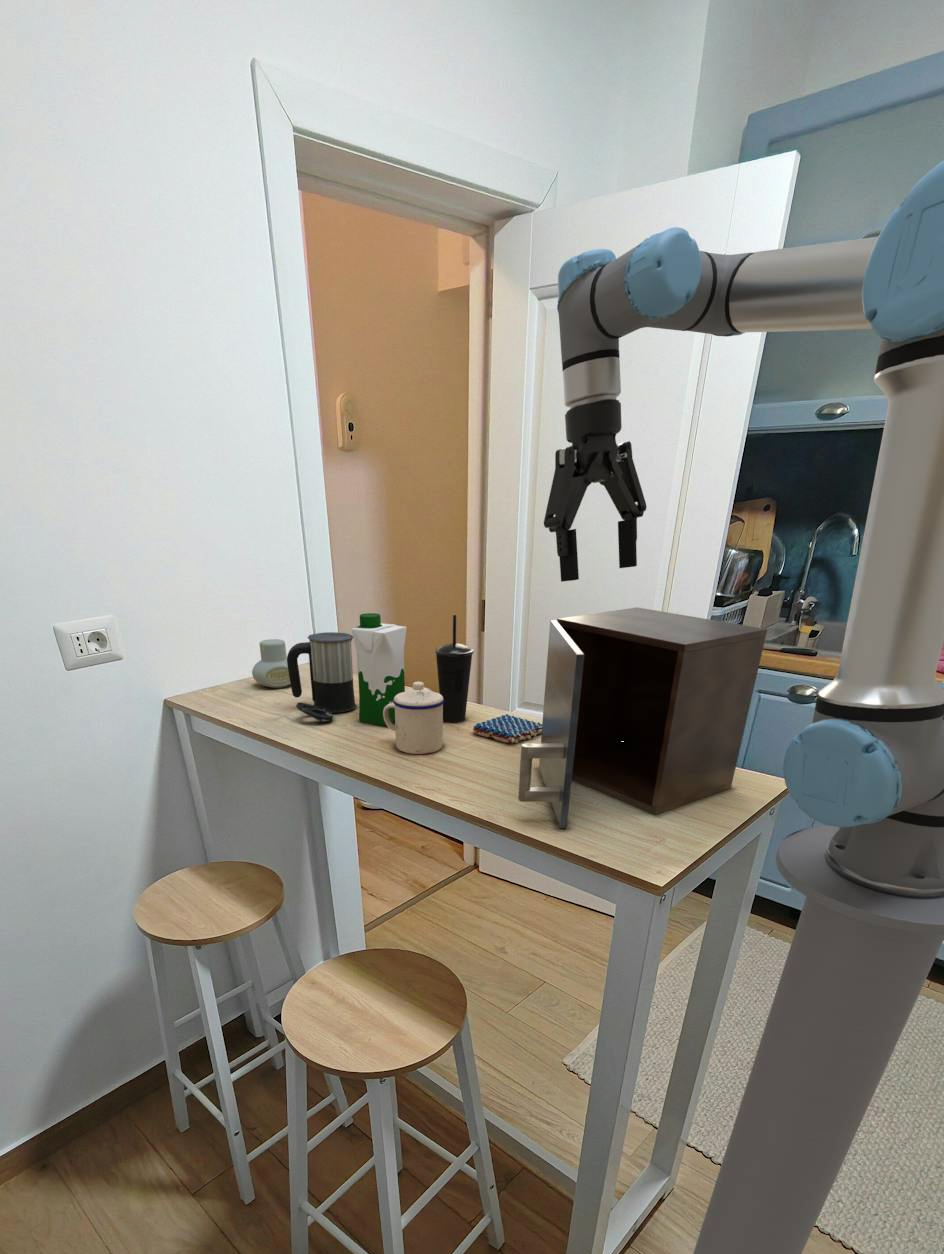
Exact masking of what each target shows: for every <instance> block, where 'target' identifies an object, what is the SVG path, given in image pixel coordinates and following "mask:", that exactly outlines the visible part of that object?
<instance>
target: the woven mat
mask: <svg viewBox="0 0 944 1254" xmlns="http://www.w3.org/2000/svg"><path fill="white" fill-rule="evenodd" d="M472 730H473V732H474V733H475V734H476V735H478V736H481V737H484V738H493V739H494V740H495V741H499V742H504V743H507V744H508V743H510V744H514V743H515V744H518V743H519V741H522V740H523V741H525V740H531V738H532V737H537V735H539V734H540V735H541V734H542V723H541V722H539V721H538V722H535V721H533V720H531V721H530V720H528V719H526V718H525V719H523V718H521V717H516V716H514V715H509V714H508V713H506V714H503V715H501V716H497V717H493V718H491V719H487V720H484V721H481V722H476V724H475V725H474V726H473V729H472Z"/></svg>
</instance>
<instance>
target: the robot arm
mask: <svg viewBox="0 0 944 1254" xmlns="http://www.w3.org/2000/svg"><path fill="white" fill-rule="evenodd" d="M887 219H888V220H887V221H886V222H885V224H884V226H883V227H882V229H881V231H880V233H879V235H878V236H872V237H865V238H857V239H848V240H840V241H833V242H831V241H830V242H825V243H816V244H807V245H801V246H791V247H785V248H784V247H783V248H776V249H770V250H769V249H768V250H767V249H766V250H760V251H755V252H743V253H736V254H722V253H713V252H708V251H704V250H700V248H699V245H698V243H697V241H696V239H694V238H692V237H691V235H690V234H689V231H688V230H687V229H685V228H683V227H678V226H675V227H670V228H667V229H665V230H663V231H661V232H658V233H655V234H652V235H650V236H649V237H646V238H645V239H643V240H642V242H639V244H638V245H636V246H635V247H632V248H631V249H630V250H628V251H627V252H625V253H623V254H622V255H620V256H618V257H616V254H615V252H613V251H612V250H610V249H607V248H597V249H591V250H587V251H584V252H582V253H580V254H578V255H574V256H572V257H570V258H568V259H567V260H566V261H565V262H564V263H563V264H562V265H561V267H560V268H559V270H558V274H557V304H556V310H557V314H558V323H559V339H560V353H561V354H560V355H561V367H562V368H561V369H562V380H563V381H562V382H563V394H564V395H563V397H564V407H566V408H568V410H567V411H566V412H565V414H564V424H565V439H566V441H567V442H568V444H569V443H570V444H571V445H569V446H566V447H563V448H559V449H556V451H555V455H554V456H555V458H554V459H555V460H554V463H555V464H554V472H553V477H552V482H551V487H550V491H549V492H550V493H549V496H548V502H547V506H546V510H545V514H544V519H543V526H544V528H546V529H548V531H549V532H550V533H555V539H556V553H557V556H558V558H559V570H560V582H571V581H578V580H579V579H580V576H579V575H580V574H579V558H578V541H577V539H578V538H577V528H572V526H573V525H574V524H573V523H574V521H575V519H576V516H577V514H578V511H579V509H580V506H581V504H582V501H583V499H584V497H585V494H586V492H587V489H588V487H589V486H590V485H592V484H597V483H599V484H600V485H601V486H603V487H604V488H605V490H606V492H607V494H608V495H609V497H610V499H611V501H612V503H613V505H614V507H615V508H616V511H617V513H618V514H619V516H620V517H621V520H619V521H617V536H618V538H617V540H618V567H619V568H618V569H626V568H627V569H628V568H634V567H637V566H638V561H637V559H638V558H637V557H638V555H637V552H638V551H637V540H638V518H643V516H644V513H645V512H646V511H647V501H646V499H645V496H644V492H643V489H642V485H641V482H640V479H639V475H638V472H637V469H636V466H635V461H634V459H633V447H632V442H631V441H630V440H628V441H624V442H621V443H617V440H616V436H617V434H619V433H620V432H621V430H622V428H623V427H622V403H621V402H620V400H619V399H617V397H619V396H620V394H621V393H622V385H621V363H620V361H621V359H620V338H622V337H625V336H627V335H630V334H631V333H633V332H636V331H637V330H641V329H644V328H653V329H661V330H671V331H679V332H680V331H681V332H693V333H700V334H708V335H713V336H716V337H727V338H728V337H732V336H741V335H743V334H746V333H778V332H779V333H780V332H781V333H782V332H783V333H785V332H821V331H822V332H825V331H826V332H828V331H831V332H832V331H868V330H869V331H870V330H873V333H874V334H875V335H876V336H879V338H880V343H879V349H878V355H877V360H876V366H875V371H874V378H873V382H874V384H875V385H876V386H877V387H878V388H879V389H880V391H881V392H882V393H883V394H884V395H885V397H886V398H887V401H888V402H887V403H888V405H887V410H886V415H885V421H884V426H883V432H882V436H881V442H880V448H879V452H878V457H877V464H876V468H875V474H874V479H873V485H872V488H871V489H872V490H871V496H870V500H869V505H868V511H867V517H866V521H865V526H864V532H863V538H862V543H861V548H860V553H859V557H858V558H859V559H858V565H857V569H856V575H855V580H854V584H853V590H852V595H851V601H850V607H849V611H848V617H847V623H846V628H845V632H844V639H843V644H842V649H841V653H840V658H839V659H840V660H839V665H838V671H837V674H836V676H835V677H834V678H833V680H831V681H830V682H829V683H828V684H827V685H825V686H824V687H823V688H821V689H820V690H818V692H817V695H816V702H815V706H814V710H813V711H814V712H813V717H812V723H809V724H808V725H806V726H805V727H803V729H802V730H800V732H798V734H797V735H795V736H794V737H793V738H792V739H791V741H790V742H789V744H788V746H787V748H786V750H785V754H784V758H783V765H782V767H783V771H782V772H783V779H784V784H785V787H786V789H787V791H788V793H789V797H790V798H791V799H794V800H795V802H796V804H797V807H798V808H799V810H800V811H802V813H804V814H805V815H806V816H807V817H809V818H811V819H812V820H814V821H816V822H818V823H820V824H822V825H824V826H826V825H829V826H834V827H840V828H839V830H838V831H837V832H836V833H835V835H834V836H833V837H832V839H831V841H830V843H829V845H828V848H827V851H826V854H825V860H826V862H827V864H828V865H829V867H830V868H831V869H832V870H833V871H835V872H836V873H837V874H839V875H840V876H842V877H843V878H845V879H847V880H849V881H851V882H853V883H855V884H857V885H860V886H862V887H865V888H868V889H871V890H874V891H877V892H881V893H885V894H889V895H894V896H899V897H906V898H918V899H932V898H941V897H944V682H939V681H937V679H936V674H937V670H938V665H939V661H940V658H941V654H942V650H943V646H944V160H942V161H940V162H939V163H938V164H936V165H935V166H934V167H933V168H932V169H930V170H929V171H927V173H926V174H924V176H922V177H921V178H920V179H919V180H918V181H917V182H916V183H915V184H914V185H913V186H912V188H911V189H909V192H908V193H907V195H906V197H905V198H904V199H903V201H902V202H901V204H900V205H899V206H898V207H897V208H896V209H894V210H893V211H892V213H891V214H890V216H889V218H887ZM571 528H572V529H571Z"/></svg>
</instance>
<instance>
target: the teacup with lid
mask: <svg viewBox="0 0 944 1254" xmlns="http://www.w3.org/2000/svg"><path fill="white" fill-rule="evenodd" d="M443 703H444V699H443V697H442V695H441V694H440V693H439V692H436V691H432V690H431V689H430V688H428V687H425V684H424V682H423V681H414V682H413V683H412V687H410V688H408V689H405V692H402V693H399V694H397V695H396V696H395V697H394V700H393V703H390V704H388V705H386V706H385V708H384V710H383V718H384V721H385V723H386V725H387V728H388V729H390V730H392V731H394V732H395V745H396V746H395V747H396V749H397V750H399V751H400V752H403V753H406V754H412V755H425V754H432V753H435V752H438V751H440V750H441V749H442V747H443V746H444V745H443V743H444V741H443V740H444V736H443V735H444V733H443V732H444V728H443V727H444V723H443V722H444V721H443ZM389 708H395V723H394V724H392V722H391V721H390V718H389V715H388V711H389Z"/></svg>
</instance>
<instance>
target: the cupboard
mask: <svg viewBox="0 0 944 1254" xmlns="http://www.w3.org/2000/svg"><path fill="white" fill-rule="evenodd" d="M556 620H557V622H558V623H559V624H560V625H561V627H562V628H563V629H564V630H565V631H566V633H567V634H568V635H569V636H570V638H571V639H572V640H573V641H574V642H575V644H576V645H577V646H578V647H579V649H580V650H581V651H582V652H583V653H584V655H585V656H584V666H583V675H582V685H581V695H580V705H579V714H578V724H577V734H576V743H575V753H574V763H573V772H572V781H575V782H577V783H579V784H581V785H584V786H587V787H589V788H590V789H591V788H592V789H594V790H596V791H598V792H600V793H603V794H606V795H608V796H610V797H612V798H615V799H618V800H619V801H622V802H624V803H626V804H629V805H631V806H633V807H636V808H638V809H641V810H643V811H645V812H648V813H651V814H653V815H656V816H657V815H660V814H662V813H665V812H668V811H671V810H674V809H677V808H679V807H682V806H685V805H687V804H690V803H693V802H696V801H698V800H701V799H704V798H707V797H710V796H712V795H715V794H718V793H721V792H724V791H727V790H730V789H731V788H732V785H733V781H734V776H735V772H736V767H737V763H738V759H739V756H740V755H739V754H740V751H741V746H742V741H743V737H744V733H745V728H746V725H747V720H748V715H749V711H750V707H751V702H752V698H753V694H754V689H755V686H756V681H757V676H758V672H759V669H760V663H761V659H762V655H763V649H764V647H765V642H766V637H767V632H768V628H763V627H757V626H751V625H746V624H739V623H734V622H733V623H732V622H727V621H722V620H715V619H711V618H710V619H708V618H703V617H696V616H692V615H685V614H679V613H673V612H667V611H660V610H656V609H655V610H654V609H651V608H644V607H629V608H622V609H616V610H609V611H602V612H596V613H595V612H594V613H587V614H581V615H580V614H579V615H574V616H566V617H560V618H559V617H558V618H557V619H556ZM621 741H624V742H621Z"/></svg>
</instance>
